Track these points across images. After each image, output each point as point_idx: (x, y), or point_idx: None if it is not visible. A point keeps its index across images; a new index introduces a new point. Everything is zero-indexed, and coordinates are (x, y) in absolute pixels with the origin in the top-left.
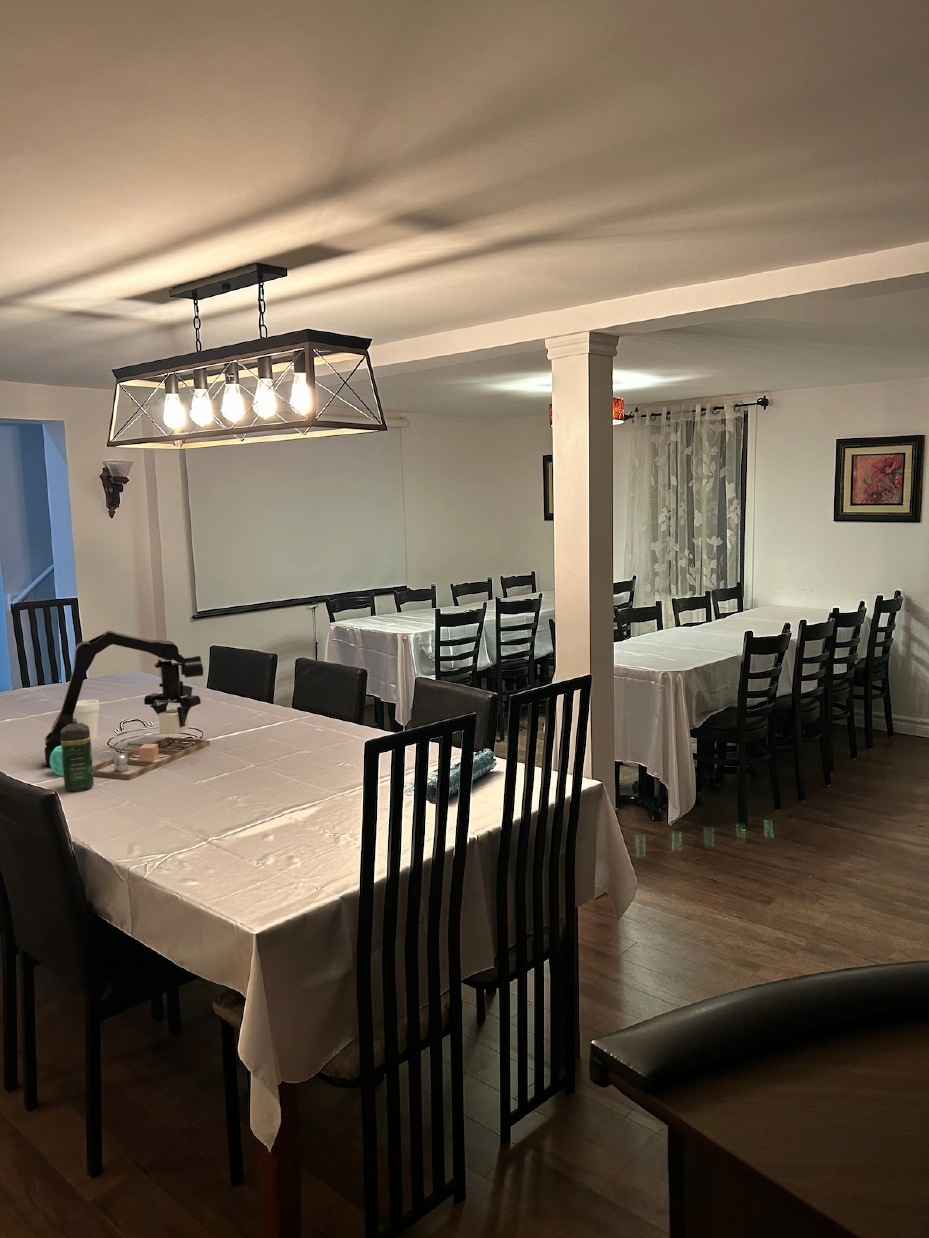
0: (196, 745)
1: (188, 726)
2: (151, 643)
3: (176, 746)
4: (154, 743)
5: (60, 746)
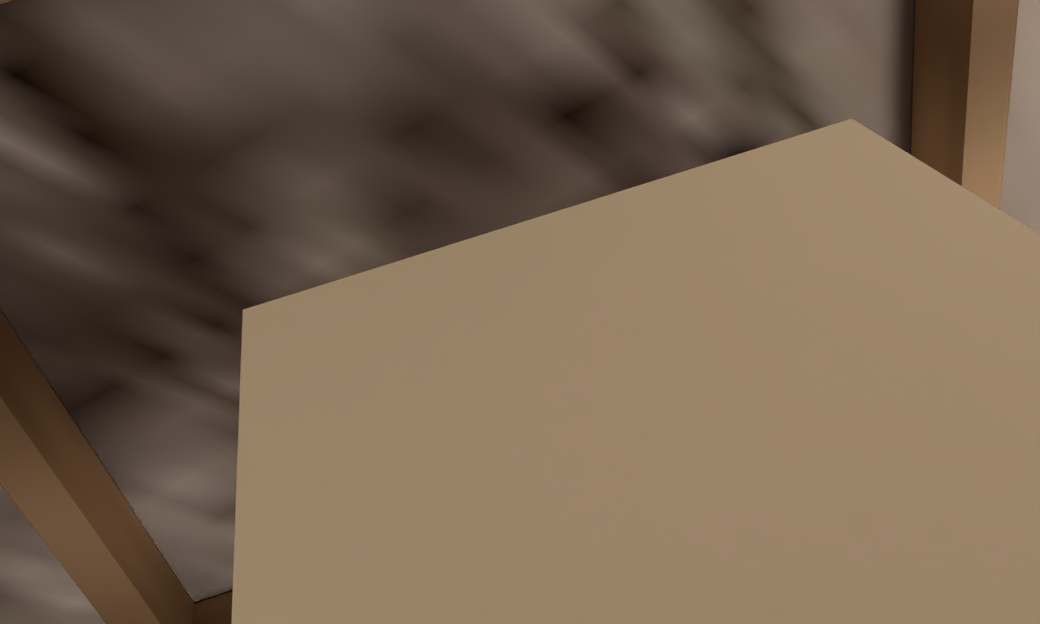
0: (984, 109)
1: (900, 150)
2: None
3: (397, 146)
4: (49, 447)
5: None
